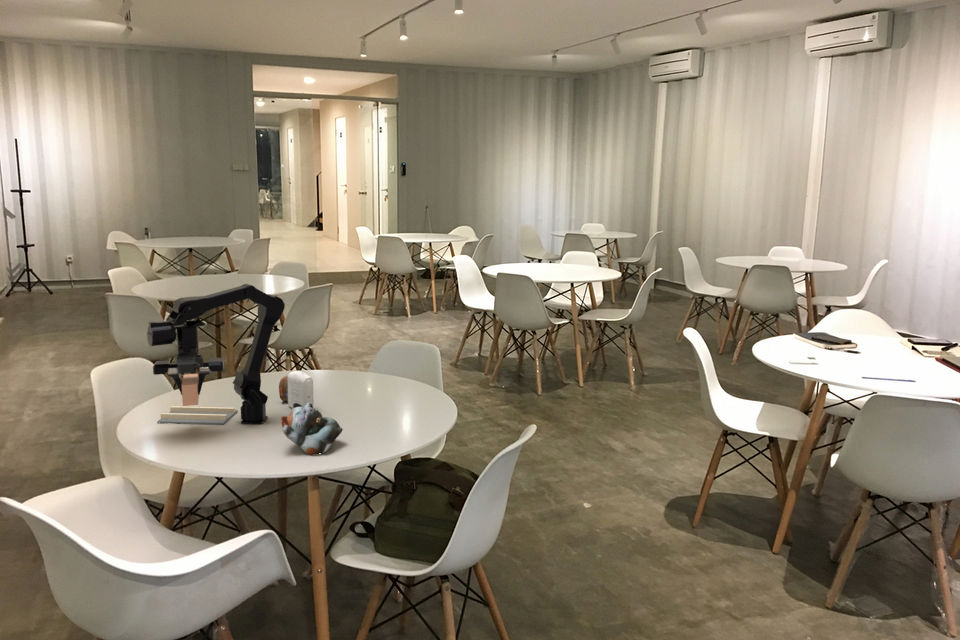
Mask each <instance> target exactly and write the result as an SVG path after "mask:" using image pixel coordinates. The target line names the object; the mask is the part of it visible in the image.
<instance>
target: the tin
mask: <svg viewBox="0 0 960 640" xmlns="http://www.w3.org/2000/svg"><path fill="white" fill-rule="evenodd" d="M288 375H289V373H288V374H286V375H285V376H283V377H282V378H281V379H280V381H279V382H278V383H279V384H278V392H279V393H278V395H279V398H280V400H281V401H282V402H288Z"/></svg>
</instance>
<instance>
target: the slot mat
mask: <svg viewBox="0 0 960 640" xmlns="http://www.w3.org/2000/svg"><path fill="white" fill-rule="evenodd" d="M169 410H170V412H161V413H160V419H159V420H157V424H168V423H183V424H182V425H209V424H210V425H211V426H213V425H214V426H215V425H216V426H224V425H225V424H226V423H227V422H228V421H229V420H230V419H232V418H233V417H234V416H235V415H236V414H237V413H238V412H239V411H238V409H236V408H235V407H223V406H222V407H220V406H219V407H215V406H214V407H212V406H183V405H182V406H178V405H175V406H173V405H172V406H170V407H169ZM159 422H160V423H159Z"/></svg>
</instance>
